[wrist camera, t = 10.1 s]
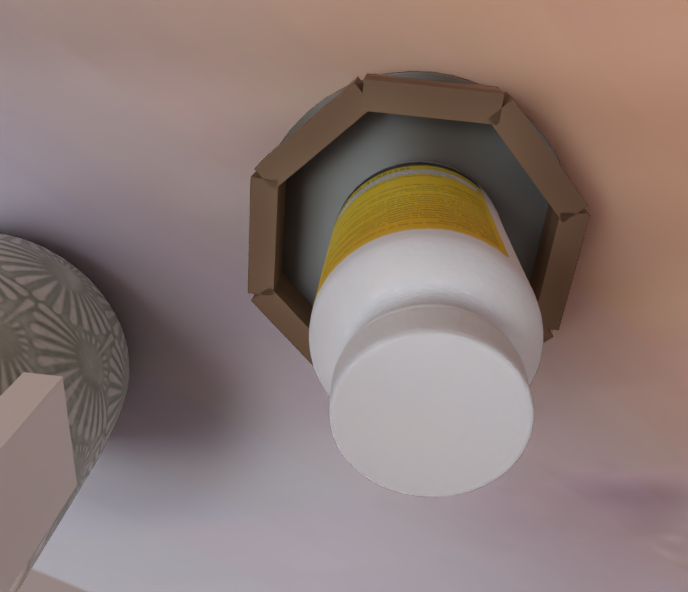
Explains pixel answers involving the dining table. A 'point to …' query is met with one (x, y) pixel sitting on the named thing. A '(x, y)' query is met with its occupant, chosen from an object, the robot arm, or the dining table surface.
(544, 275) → the holder
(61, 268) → the planter
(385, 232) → the pill bottle
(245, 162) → the dining table surface
